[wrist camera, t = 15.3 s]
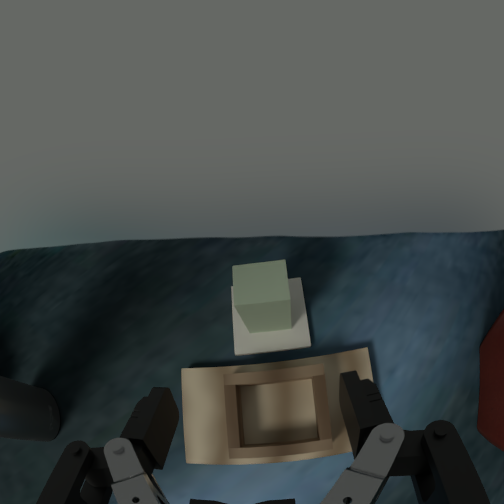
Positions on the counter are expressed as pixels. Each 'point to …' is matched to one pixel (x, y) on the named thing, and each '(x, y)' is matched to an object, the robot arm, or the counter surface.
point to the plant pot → (492, 385)
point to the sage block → (262, 296)
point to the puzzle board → (268, 410)
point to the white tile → (275, 339)
